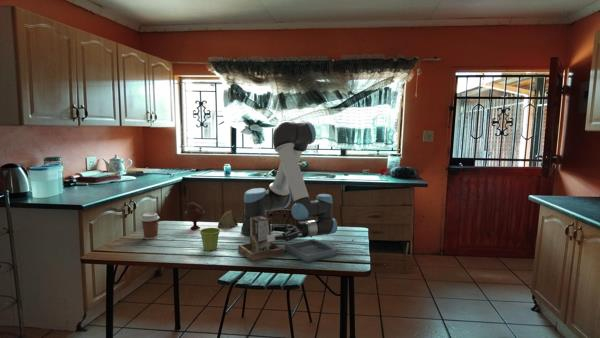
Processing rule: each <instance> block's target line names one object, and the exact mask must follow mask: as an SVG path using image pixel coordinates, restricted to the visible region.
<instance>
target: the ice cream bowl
mask: <svg viewBox="0 0 600 338" xmlns="http://www.w3.org/2000/svg"><path fill="white" fill-rule="evenodd" d="M185 208H186V211H184V213H183V215H184V216H185V218H186V219H187V220H188V221H190V222H192V223H193V225H192V226H191V227H190V228H189V230H191V231H197V230H196V229H198V230H201V226H198V224H197V222H199V221H201V220H202V219H203V217H204V216H205V213H206V211H205V210H203V206H201V205H200V204H197V203H196V202H191V201H190V202H189V203H187V204H186V207H185Z"/></svg>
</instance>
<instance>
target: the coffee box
mask: <svg viewBox="0 0 600 338" xmlns="http://www.w3.org/2000/svg"><path fill="white" fill-rule="evenodd" d="M271 221H272V219H270V218H268V217H267V216H266V217H264V216H256V217H250V236H249V237H250V242H249V243H250V244H251V250H250V251H251V252H252V253H253V254H254V253H259V252H264V251H269V250H272V249H271V242H272V241H270V242H267V235H272V232H271V224H272V222H271Z"/></svg>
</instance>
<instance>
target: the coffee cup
mask: <svg viewBox="0 0 600 338" xmlns="http://www.w3.org/2000/svg"><path fill="white" fill-rule="evenodd" d="M160 219H161V218H160V216H159V215H158V213H156V212H149V213H148V212H147V213H146V212H145V213H143V214H142V216H141V217H140V221H141V223H142V230H143V238H144V239H145V240H154V239H157V238H158V233H159V220H160Z"/></svg>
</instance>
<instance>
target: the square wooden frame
mask: <svg viewBox="0 0 600 338" xmlns="http://www.w3.org/2000/svg"><path fill="white" fill-rule="evenodd" d="M237 246H238V250H237V251H238V253H239V254H241V255H243V256H244V257H246V258H247V259H248V260H250V261H252V262H257V261H263V260H266V259H267V260H268V259H271V258H272V259H273V258H275V257H280V256H281V257H282V256H284V247H282V246H280V245H278V244H276V243H275V242H274V241H271V250H269V251H264V252H259V253H254V254H253V253H252V252H251V244H250V242H247V243H242V244H238V245H237Z"/></svg>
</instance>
